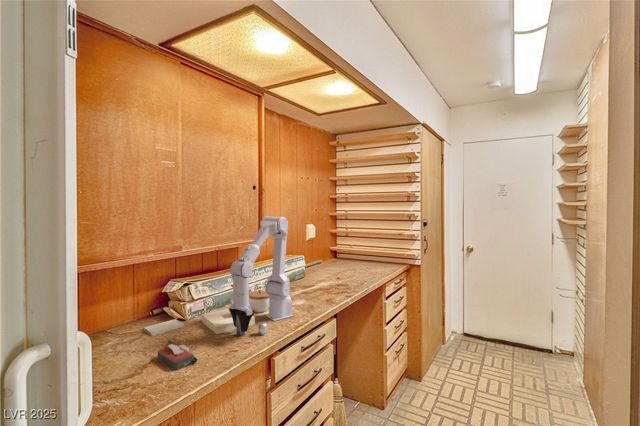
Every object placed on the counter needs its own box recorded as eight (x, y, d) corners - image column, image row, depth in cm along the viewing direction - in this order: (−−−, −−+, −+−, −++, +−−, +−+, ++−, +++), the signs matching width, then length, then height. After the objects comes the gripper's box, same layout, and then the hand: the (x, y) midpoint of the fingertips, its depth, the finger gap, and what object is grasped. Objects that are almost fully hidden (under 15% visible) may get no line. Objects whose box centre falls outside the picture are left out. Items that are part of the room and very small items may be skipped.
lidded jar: (243, 312, 144) (243, 292, 144) (255, 305, 154) (255, 286, 154) (265, 315, 141) (265, 294, 140) (275, 307, 151) (275, 288, 151)
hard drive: (151, 333, 118) (184, 323, 127) (142, 327, 123) (174, 318, 133) (151, 337, 118) (184, 327, 127) (142, 331, 123) (174, 322, 133)
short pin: (264, 331, 124) (264, 321, 123) (268, 334, 121) (268, 324, 121) (256, 333, 121) (256, 323, 121) (260, 336, 119) (260, 325, 119)
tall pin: (242, 332, 122) (242, 311, 122) (246, 335, 120) (246, 314, 119) (234, 334, 120) (235, 313, 120) (238, 337, 118) (238, 316, 117)
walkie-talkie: (203, 362, 100) (171, 344, 113) (203, 348, 100) (171, 331, 112) (176, 374, 93) (145, 353, 106) (176, 359, 93) (145, 340, 105)
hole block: (237, 313, 143) (237, 306, 143) (254, 324, 130) (254, 317, 130) (201, 321, 133) (201, 314, 132) (216, 334, 120) (216, 326, 120)
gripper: (222, 290, 122) (222, 325, 123) (239, 299, 111) (239, 338, 112) (240, 287, 127) (239, 321, 127) (257, 296, 116) (257, 333, 116)
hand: (240, 328), depth 120 cm, fingers open, 5 cm apart
